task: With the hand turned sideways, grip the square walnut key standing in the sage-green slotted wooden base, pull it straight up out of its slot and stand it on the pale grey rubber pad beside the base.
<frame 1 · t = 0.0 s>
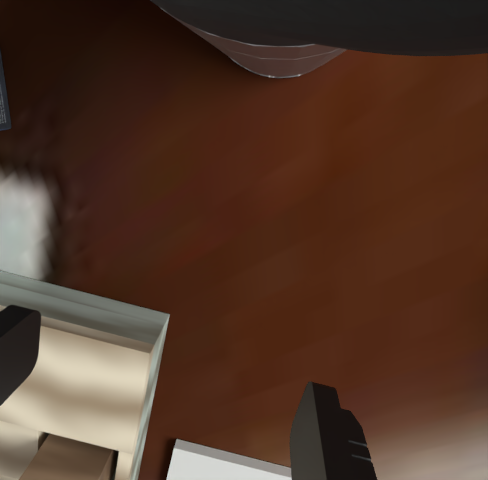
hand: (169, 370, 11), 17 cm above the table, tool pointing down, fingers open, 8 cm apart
walnut key: (94, 433, 35), point 2 cm above the table, touching slotted wooden base
slotted wooden base: (69, 388, 35), on the table
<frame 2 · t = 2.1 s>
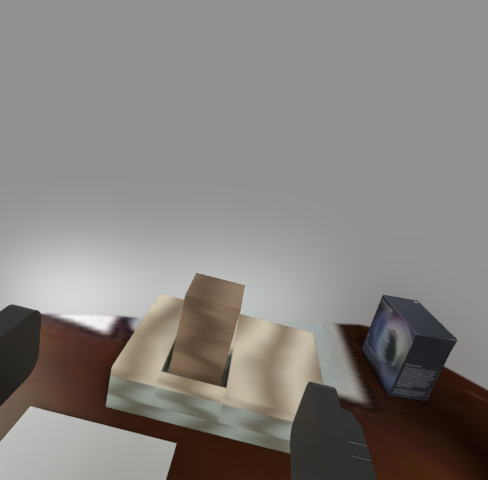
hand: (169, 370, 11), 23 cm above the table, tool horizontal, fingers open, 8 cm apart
small box: (389, 374, 56), on the table
walnut key: (193, 383, 41), point 2 cm above the table, touching slotted wooden base
slotted wooden base: (220, 380, 45), on the table
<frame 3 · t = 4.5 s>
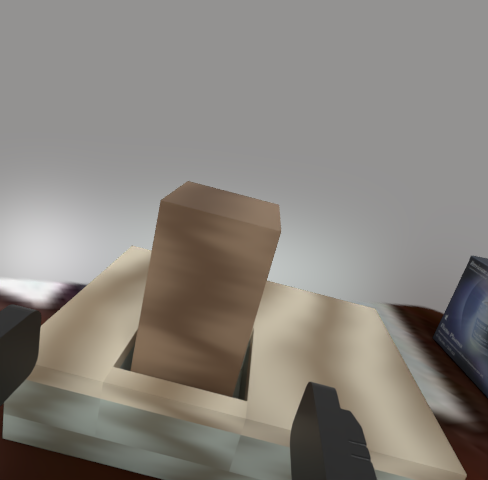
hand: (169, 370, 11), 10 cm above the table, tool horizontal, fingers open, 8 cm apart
small box: (483, 374, 37), on the table
walnut key: (183, 390, 22), point 2 cm above the table, touching slotted wooden base
slotted wooden base: (231, 384, 26), on the table
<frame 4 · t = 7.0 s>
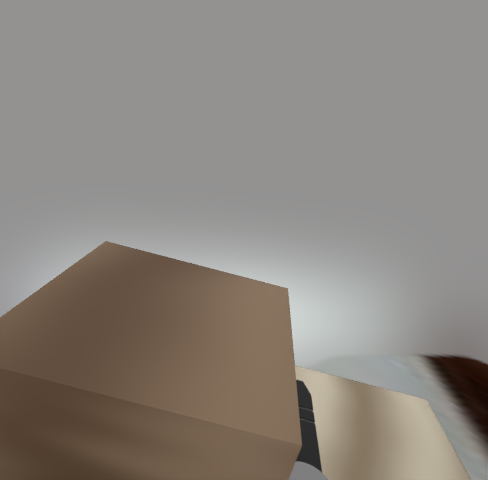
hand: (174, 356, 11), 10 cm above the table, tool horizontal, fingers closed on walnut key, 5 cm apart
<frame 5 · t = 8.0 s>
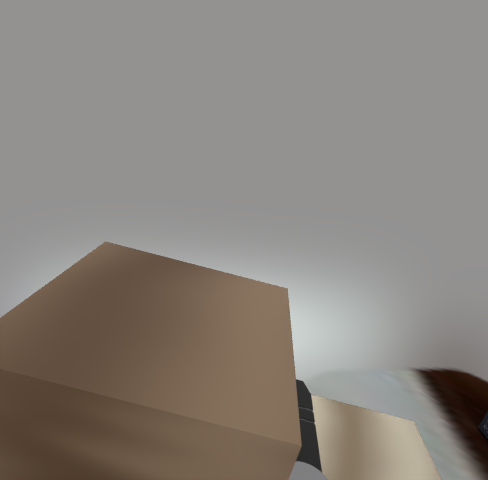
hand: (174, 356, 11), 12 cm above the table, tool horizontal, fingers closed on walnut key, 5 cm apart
when the fingers open (10 cm above the table, at t = 13.4 s): walnut key stays where it is, resting on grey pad.
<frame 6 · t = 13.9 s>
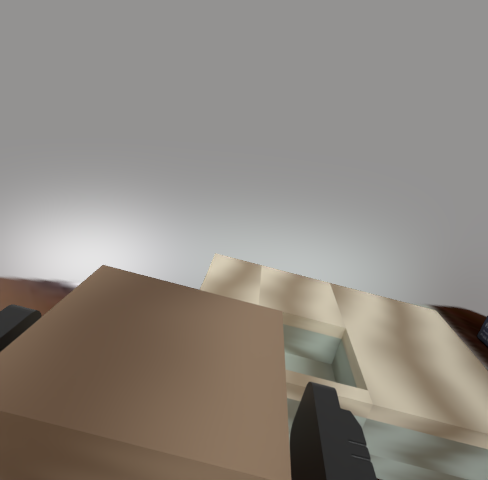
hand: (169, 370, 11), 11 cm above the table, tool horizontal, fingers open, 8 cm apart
slotted wooden base: (320, 378, 29), on the table
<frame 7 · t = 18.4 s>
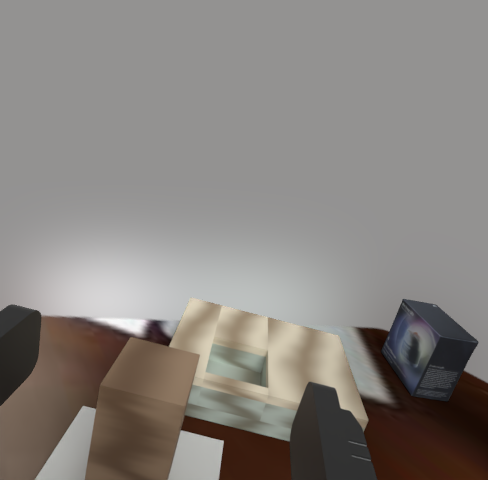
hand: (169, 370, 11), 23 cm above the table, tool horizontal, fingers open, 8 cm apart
small box: (410, 375, 58), on the table
slotted wooden base: (254, 381, 47), on the table
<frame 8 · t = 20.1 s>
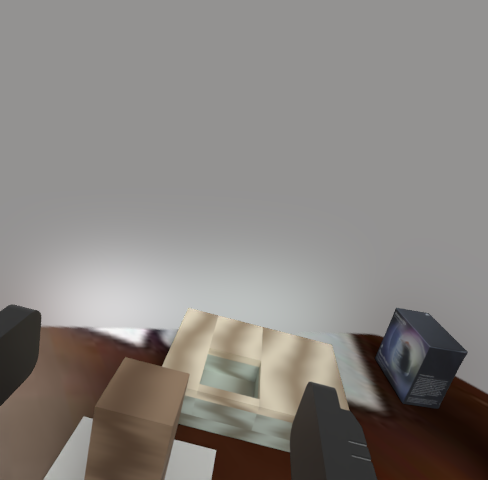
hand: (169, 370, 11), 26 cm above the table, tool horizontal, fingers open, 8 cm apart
small box: (402, 382, 59), on the table
slotted wooden base: (248, 390, 49), on the table
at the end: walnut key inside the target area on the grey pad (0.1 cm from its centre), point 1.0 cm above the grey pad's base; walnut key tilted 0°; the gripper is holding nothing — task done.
